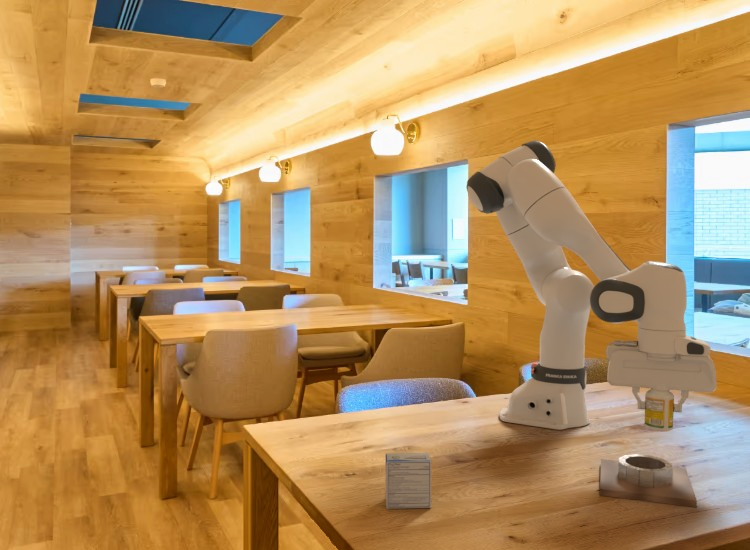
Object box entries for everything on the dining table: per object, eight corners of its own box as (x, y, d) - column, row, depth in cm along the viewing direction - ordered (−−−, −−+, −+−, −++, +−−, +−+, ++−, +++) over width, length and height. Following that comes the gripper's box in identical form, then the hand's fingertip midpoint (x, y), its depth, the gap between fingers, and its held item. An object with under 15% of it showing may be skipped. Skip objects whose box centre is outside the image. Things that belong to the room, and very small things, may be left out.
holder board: (600, 495, 121) (600, 472, 121) (600, 464, 137) (601, 444, 137) (696, 507, 116) (697, 483, 115) (685, 474, 132) (686, 453, 131)
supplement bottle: (653, 432, 131) (654, 384, 130) (639, 424, 136) (640, 378, 136) (678, 431, 132) (680, 384, 131) (664, 424, 137) (665, 378, 136)
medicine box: (428, 499, 119) (429, 451, 119) (431, 509, 115) (432, 460, 114) (385, 499, 119) (385, 452, 118) (386, 509, 114) (386, 460, 114)
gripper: (606, 341, 133) (604, 409, 134) (719, 347, 127) (717, 418, 127) (606, 337, 139) (604, 402, 140) (714, 342, 133) (712, 410, 133)
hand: (659, 410), depth 134 cm, fingers closed on supplement bottle, 5 cm apart
